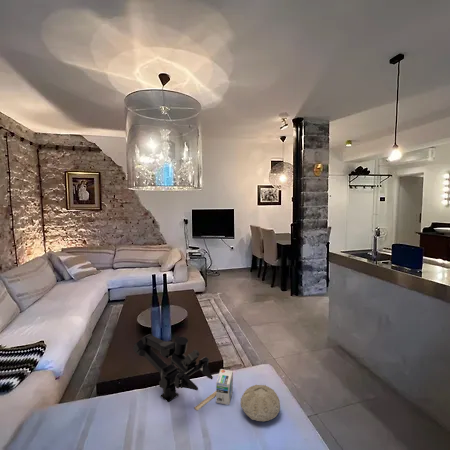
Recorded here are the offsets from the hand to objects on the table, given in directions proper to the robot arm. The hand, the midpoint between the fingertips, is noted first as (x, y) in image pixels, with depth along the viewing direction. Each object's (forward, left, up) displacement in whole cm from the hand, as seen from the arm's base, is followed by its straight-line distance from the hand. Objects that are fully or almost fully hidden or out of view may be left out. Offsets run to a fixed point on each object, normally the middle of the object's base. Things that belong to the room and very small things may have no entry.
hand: (205, 383), depth 120 cm
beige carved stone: (+15, +20, -17) cm, 30 cm away
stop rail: (-8, +15, -17) cm, 24 cm away
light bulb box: (-4, +17, -17) cm, 24 cm away
